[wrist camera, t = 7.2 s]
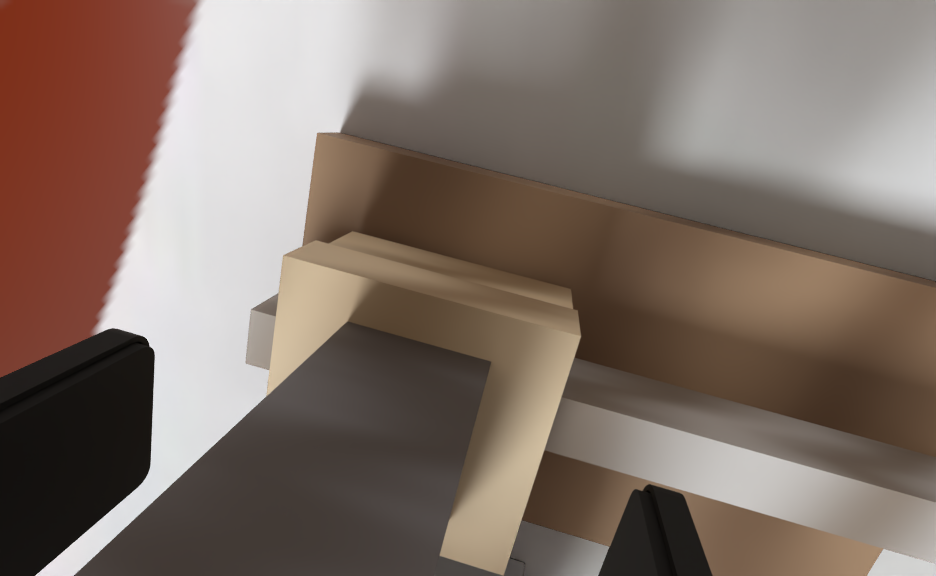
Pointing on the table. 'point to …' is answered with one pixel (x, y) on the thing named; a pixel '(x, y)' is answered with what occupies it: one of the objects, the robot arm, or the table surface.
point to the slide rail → (685, 362)
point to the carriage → (373, 425)
